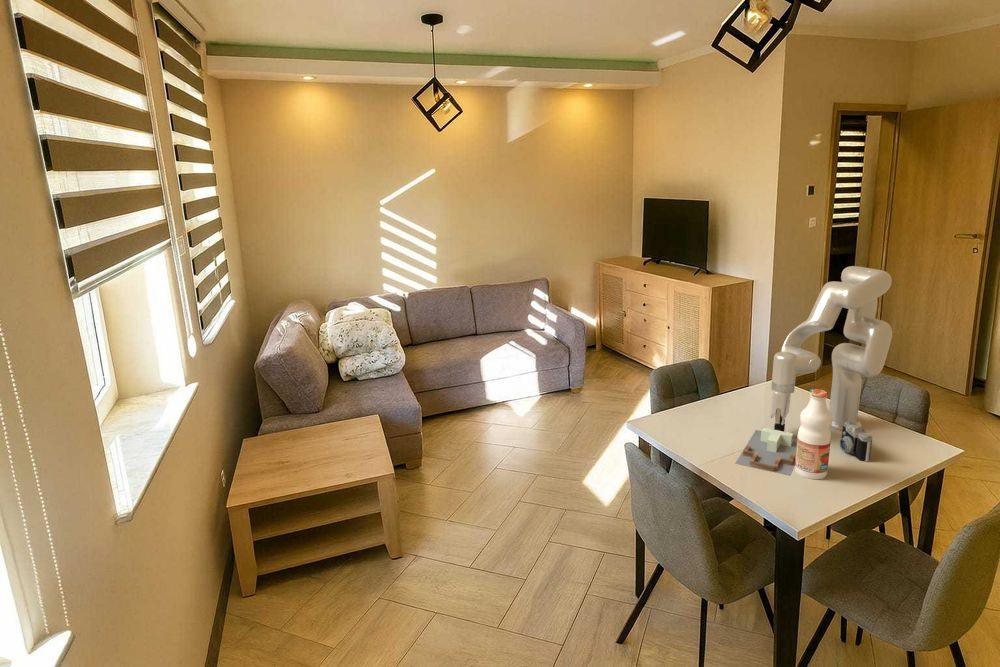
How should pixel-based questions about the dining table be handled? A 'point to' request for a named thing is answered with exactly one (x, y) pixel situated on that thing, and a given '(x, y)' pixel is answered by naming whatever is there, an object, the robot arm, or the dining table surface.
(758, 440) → the mat
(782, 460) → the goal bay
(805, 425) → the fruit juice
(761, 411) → the dining table surface
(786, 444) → the t block
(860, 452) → the camera
